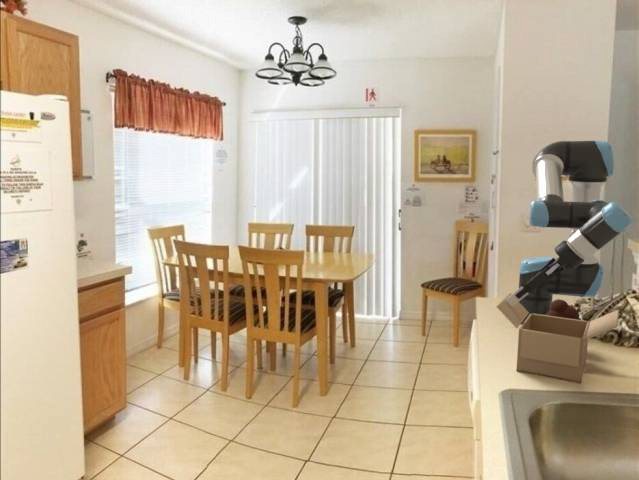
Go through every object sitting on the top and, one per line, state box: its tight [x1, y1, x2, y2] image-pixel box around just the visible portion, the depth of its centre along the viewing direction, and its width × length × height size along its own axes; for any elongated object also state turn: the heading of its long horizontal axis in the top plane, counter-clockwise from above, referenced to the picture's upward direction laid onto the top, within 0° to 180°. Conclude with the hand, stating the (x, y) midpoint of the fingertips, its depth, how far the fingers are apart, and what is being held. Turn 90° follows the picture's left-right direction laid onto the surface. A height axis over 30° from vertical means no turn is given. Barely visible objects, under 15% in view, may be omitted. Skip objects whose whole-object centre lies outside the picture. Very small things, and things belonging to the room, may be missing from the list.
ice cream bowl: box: [546, 298, 582, 320], centre depth 167 cm, size 11×11×15 cm
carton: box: [516, 314, 590, 384], centre depth 151 cm, size 19×16×12 cm
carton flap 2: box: [586, 309, 620, 340], centre depth 144 cm, size 18×8×1 cm
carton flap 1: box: [496, 292, 529, 329], centre depth 155 cm, size 18×8×1 cm
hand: (508, 303), depth 156 cm, fingers closed
